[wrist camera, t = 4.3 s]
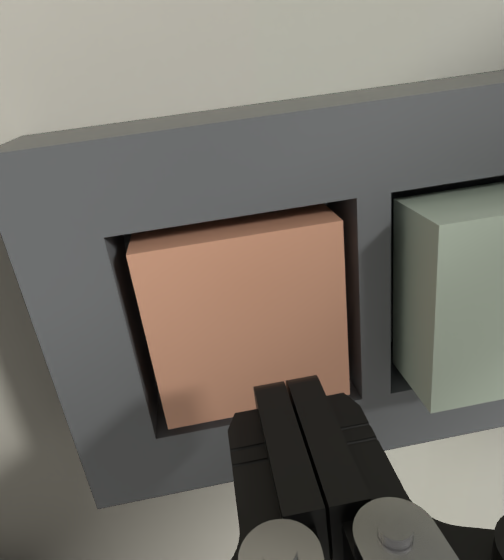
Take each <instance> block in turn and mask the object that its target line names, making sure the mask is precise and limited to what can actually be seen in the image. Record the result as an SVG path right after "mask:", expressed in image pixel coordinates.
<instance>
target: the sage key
mask: <svg viewBox="0 0 504 560" xmlns="http://www.w3.org/2000/svg"><path fill="white" fill-rule="evenodd" d="M393 364H394V365H395V366H396V368H397V369H398V370H399V372H400V373H401V374H402V376H403V377H404V379H405V380H406V381H407V383H408V384H409V385H410V387H411V388H412V389H413V391H414V392H415V393H416V395H417V396H418V397H419V399H420V400H421V401H422V403H423V404H424V405H425V407H426V408H427V409H428V411H429V412H430V413H436V412H441V411H446V410H451V409H456V408H461V407H466V406H471V405H476V404H481V403H487V402H492V401H497V400H502V399H504V181H503V182H496V183H490V184H484V185H477V186H471V187H465V188H458V189H452V190H446V191H439V192H433V193H427V194H420V195H414V196H408V197H401V198H395V199H394V201H393Z"/></svg>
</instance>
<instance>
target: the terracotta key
mask: <svg viewBox="0 0 504 560" xmlns="http://www.w3.org/2000/svg"><path fill="white" fill-rule="evenodd" d="M126 258H127V262H128V266H129V270H130V274H131V279H132V283H133V287H134V291H135V295H136V299H137V303H138V307H139V311H140V316H141V320H142V324H143V328H144V332H145V336H146V340H147V344H148V348H149V353H150V357H151V361H152V365H153V369H154V373H155V377H156V381H157V386H158V390H159V394H160V398H161V402H162V406H163V410H164V414H165V418H166V423H167V427H168V429H174V428H179V427H184V426H189V425H194V424H200V423H205V422H210V421H215V420H220V419H226V418H231V417H233V416H234V414H235V413H238V412H243V411H249V410H254V409H256V403H255V397H254V390H253V387H254V386H259V385H265V384H270V383H275V382H281V381H284V383H285V385H286V380H291V379H296V378H302V377H307V376H313V375H317V376H318V378H319V380H320V383H321V385H322V387H323V389H324V392H325V394H326V396H328V395H333V394H338V393H345V394H346V395H350V380H349V356H348V331H347V307H346V282H345V257H344V233H343V220H342V219H341V218H340V217H339V216H337V215H336V214H335V213H334V212H333V211H332V210H331V209H330V208H329V207H327V206H326V205H325V204H324V203H322V204H316V205H309V206H303V207H297V208H290V209H284V210H277V211H271V212H265V213H258V214H252V215H246V216H239V217H233V218H226V219H220V220H214V221H207V222H201V223H194V224H188V225H182V226H175V227H169V228H163V229H156V230H150V231H143V232H137V233H132V234H131V238H130V242H129V245H128V249H127V253H126Z"/></svg>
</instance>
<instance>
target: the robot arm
mask: <svg viewBox="0 0 504 560" xmlns="http://www.w3.org/2000/svg"><path fill="white" fill-rule="evenodd" d="M253 390H254V397H255V403H256V409H254V410H249V411H243V412H238V413H235V414H234V416H233V418H232V421H231V423H230V426H229V428H228V439H229V447H230V455H231V463H232V471H233V479H234V487H235V495H236V503H237V511H238V520H239V528H240V537H239V543H238V546H237V549H236V552H235V554H234V556H233V557H232V559H231V560H504V516H502V517H501V518H500V519H499V521H498V522H497V524H496V527H495V530H492V529H481V528H471V527H461V526H455V525H450V524H446V523H443V522H440V521H438V520H435V519H434V518H432V517H431V516H430V515H429V514H428V513H427V512H426V511H425V510H424V509H422V508H421V507H420V506H418V505H416V504H414V503H413V502H412V501H411V500H410V499H409V497H408V495H407V494H406V492H405V490H404V488H403V486H402V484H401V482H400V480H399V479H398V477H397V475H396V473H395V471H394V469H393V467H392V465H391V463H390V461H389V460H388V458H387V456H386V454H385V452H384V450H383V448H382V446H381V444H380V442H379V441H378V440H377V438H376V435H375V433H374V431H373V429H372V427H371V426H370V425H369V422H368V420H367V418H366V416H365V414H364V412H363V410H362V408H361V406H360V405H359V404H358V403H356V402H355V401H354V400H352V399H351V398H350V397H349V396H347V395H346V394H345V393H338V394H333V395H328V396H326V394H325V392H324V389H323V387H322V385H321V383H320V380H319V378H318V376H317V375H313V376H307V377H302V378H296V379H291V380H286V385H285V383H284V381H281V382H275V383H270V384H265V385H259V386H254V387H253Z"/></svg>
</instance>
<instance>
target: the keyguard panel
mask: <svg viewBox="0 0 504 560" xmlns="http://www.w3.org/2000/svg"><path fill="white" fill-rule="evenodd" d="M503 181H504V70H500V71H493V72H485V73H478V74H471V75H464V76H456V77H449V78H442V79H434V80H427V81H420V82H412V83H405V84H398V85H391V86H383V87H376V88H369V89H361V90H354V91H347V92H339V93H332V94H325V95H318V96H310V97H303V98H296V99H288V100H281V101H274V102H266V103H259V104H252V105H245V106H237V107H230V108H223V109H215V110H208V111H201V112H193V113H186V114H179V115H172V116H164V117H157V118H150V119H142V120H135V121H128V122H120V123H113V124H106V125H99V126H91V127H84V128H77V129H69V130H62V131H55V132H47V133H40V134H33V135H26V136H21V137H18V138H16V139H14V140H11V141H9V142H7V143H4V144H2V145H0V233H1V236H2V239H3V241H4V244H5V247H6V250H7V253H8V256H9V259H10V261H11V264H12V267H13V270H14V273H15V276H16V278H17V281H18V284H19V287H20V290H21V293H22V295H23V298H24V301H25V304H26V307H27V310H28V313H29V315H30V318H31V321H32V324H33V327H34V330H35V332H36V335H37V338H38V341H39V344H40V347H41V349H42V352H43V355H44V358H45V361H46V364H47V367H48V369H49V372H50V375H51V378H52V381H53V384H54V386H55V389H56V392H57V395H58V398H59V401H60V403H61V406H62V409H63V412H64V415H65V418H66V421H67V423H68V426H69V429H70V432H71V435H72V438H73V440H74V443H75V446H76V449H77V452H78V455H79V457H80V460H81V463H82V466H83V469H84V472H85V475H86V477H87V480H88V483H89V486H90V489H91V492H92V494H93V497H94V500H95V503H96V506H97V509H101V508H106V507H110V506H115V505H120V504H125V503H130V502H135V501H140V500H145V499H150V498H155V497H160V496H164V495H169V494H174V493H179V492H184V491H189V490H194V489H199V488H204V487H209V486H214V485H218V484H223V483H228V482H233V481H234V479H233V471H232V463H231V455H230V447H229V439H228V428H229V426H230V423H231V421H232V418H233V417H231V418H226V419H220V420H215V421H210V422H205V423H200V424H194V425H189V426H184V427H179V428H174V429H168V427H167V423H166V418H165V414H164V410H163V406H162V402H161V398H160V394H159V390H158V386H157V381H156V377H155V373H154V369H153V365H152V361H151V357H150V353H149V348H148V344H147V340H146V336H145V332H144V328H143V324H142V320H141V316H140V311H139V307H138V303H137V299H136V295H135V291H134V287H133V283H132V279H131V274H130V270H129V266H128V262H127V258H126V253H127V249H128V245H129V242H130V238H131V234H132V233H137V232H143V231H150V230H156V229H163V228H169V227H175V226H182V225H188V224H194V223H201V222H207V221H214V220H220V219H226V218H233V217H239V216H246V215H252V214H258V213H265V212H271V211H277V210H284V209H290V208H297V207H303V206H309V205H316V204H322V203H324V204H325V205H326V206H327V207H329V208H330V209H331V210H332V211H333V212H334V213H335V214H336V215H337V216H339V217H340V218H341V219H342V220H343V233H344V257H345V282H346V307H347V331H348V356H349V380H350V395H347V396H349V397H350V398H351V399H352V400H354V401H355V402H356V403H358V404H359V405H360V406H361V408H362V410H363V412H364V414H365V416H366V418H367V420H368V422H369V425H370V426H371V427H372V429H373V431H374V433H375V435H376V438H377V440H378V441H379V442H380V444H381V446H382V448H383V450H384V451H385V450H390V449H395V448H400V447H405V446H410V445H415V444H420V443H425V442H430V441H434V440H439V439H444V438H449V437H454V436H459V435H464V434H469V433H474V432H479V431H484V430H488V429H493V428H498V427H503V426H504V399H502V400H497V401H492V402H487V403H481V404H476V405H471V406H466V407H461V408H456V409H451V410H446V411H441V412H436V413H430V412H429V411H428V409H427V408H426V407H425V405H424V404H423V403H422V401H421V400H420V399H419V397H418V396H417V395H416V393H415V392H414V391H413V389H412V388H411V387H410V385H409V384H408V383H407V381H406V380H405V379H404V377H403V376H402V374H401V373H400V372H399V370H398V369H397V368H396V366H395V365H394V364H393V201H394V199H395V198H401V197H408V196H414V195H420V194H427V193H433V192H439V191H446V190H452V189H458V188H465V187H471V186H477V185H484V184H490V183H496V182H503Z"/></svg>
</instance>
